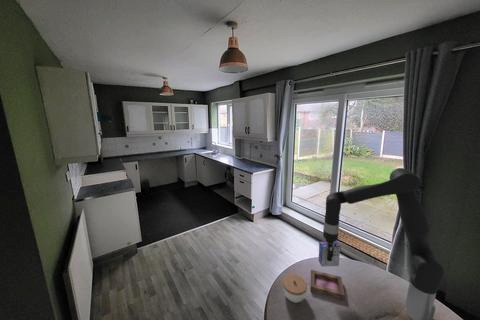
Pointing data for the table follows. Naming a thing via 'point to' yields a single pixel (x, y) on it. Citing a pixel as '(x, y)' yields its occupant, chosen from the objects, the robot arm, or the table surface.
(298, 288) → the lidded bowl
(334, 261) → the ink cartridge box
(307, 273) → the table surface
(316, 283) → the picture frame
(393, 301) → the table surface
